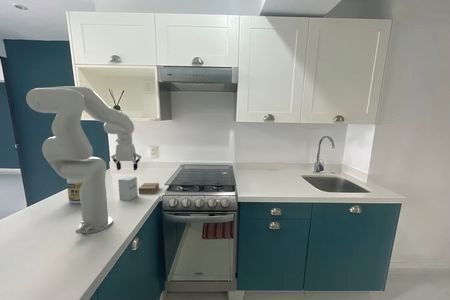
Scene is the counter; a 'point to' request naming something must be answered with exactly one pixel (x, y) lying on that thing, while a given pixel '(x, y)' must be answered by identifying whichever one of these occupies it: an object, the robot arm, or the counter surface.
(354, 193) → the counter surface
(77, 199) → the supplement tub
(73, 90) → the robot arm
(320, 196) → the counter surface
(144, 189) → the walnut block
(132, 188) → the supplement box
